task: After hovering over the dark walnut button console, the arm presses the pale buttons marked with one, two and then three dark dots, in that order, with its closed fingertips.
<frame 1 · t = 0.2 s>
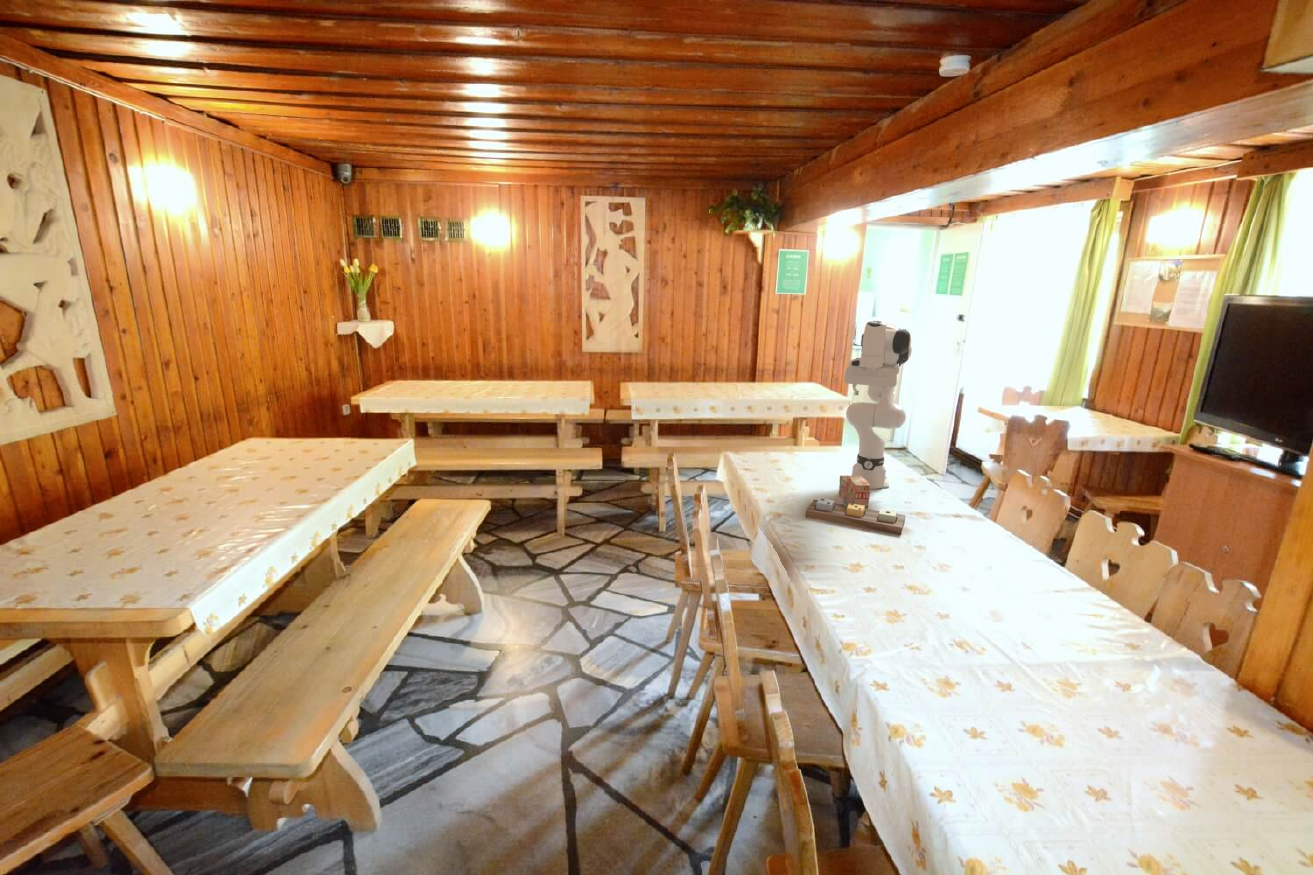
hand: (868, 396, 237), 47 cm above the table, tool pointing down, fingers open, 8 cm apart
button three: (855, 511, 232), point 4 cm above the table, slide at 0.0 cm
button one: (887, 516, 227), point 4 cm above the table, slide at 0.0 cm
button two: (825, 505, 238), point 4 cm above the table, slide at 0.0 cm
stack of blocks: (852, 503, 251), on the table
console: (854, 519, 233), on the table
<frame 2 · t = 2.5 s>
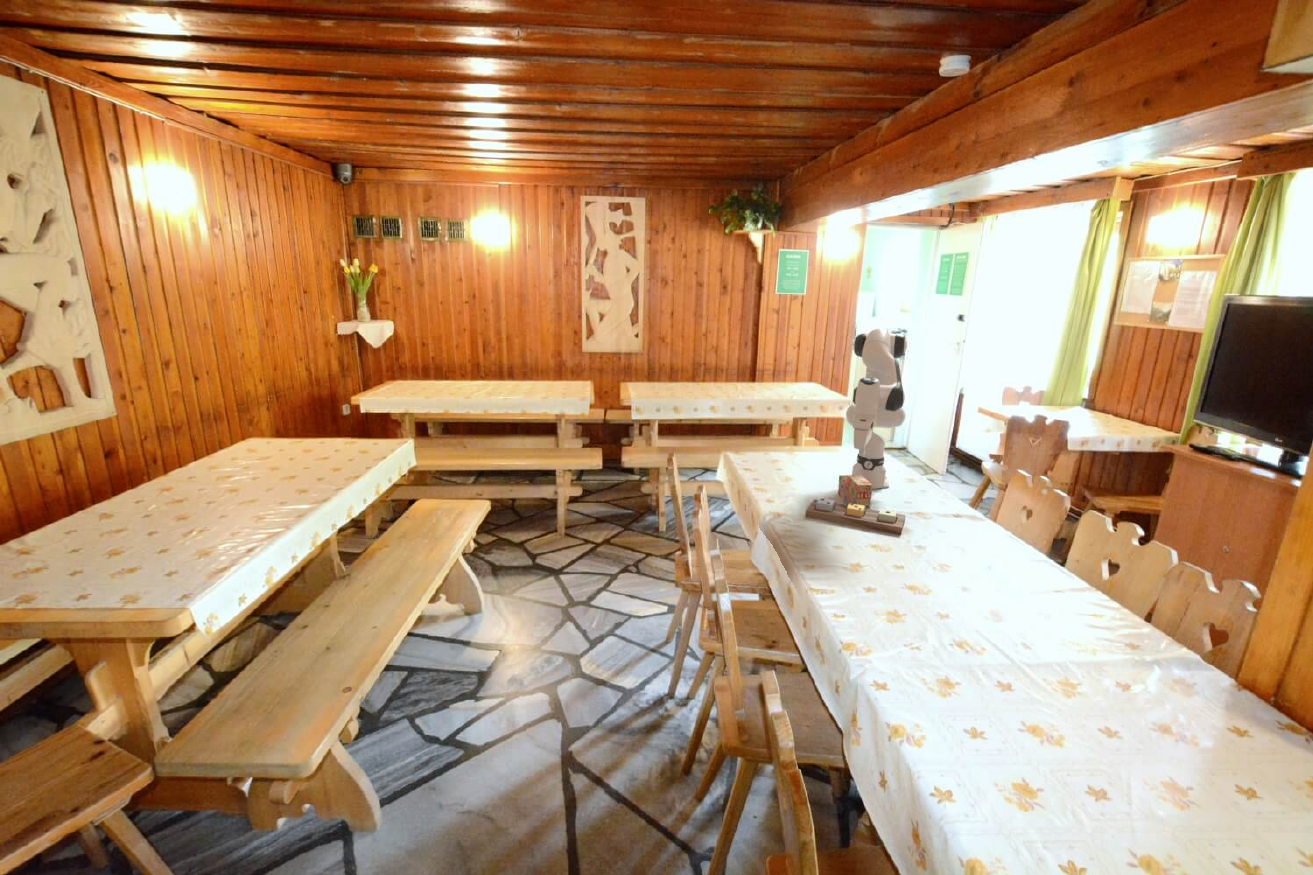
hand: (861, 454, 226), 27 cm above the table, tool pointing down, fingers closed
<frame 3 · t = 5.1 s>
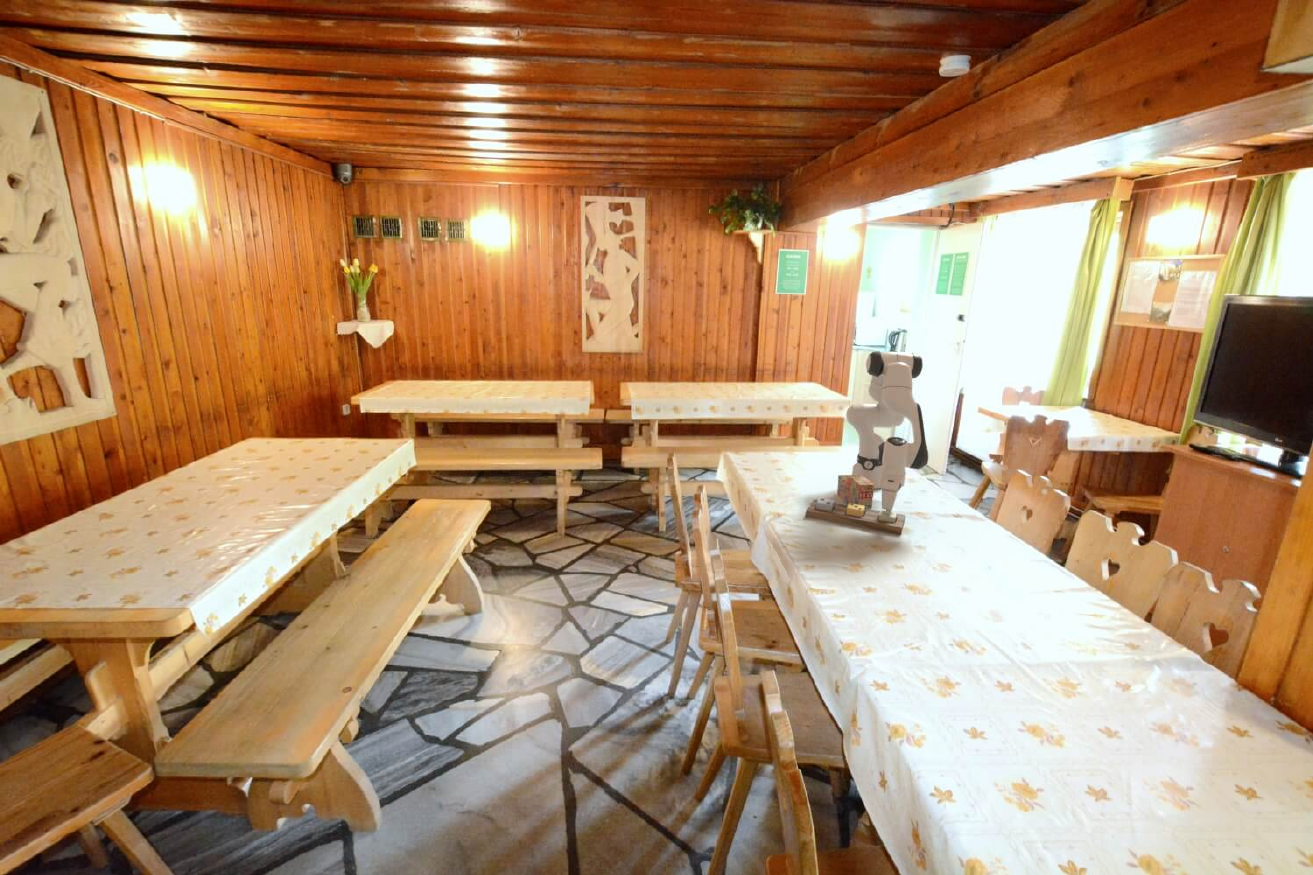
hand: (888, 513, 226), 5 cm above the table, tool pointing down, fingers closed, pressing on button one
button one: (887, 518, 227), point 3 cm above the table, slide at 0.6 cm, touching gripper
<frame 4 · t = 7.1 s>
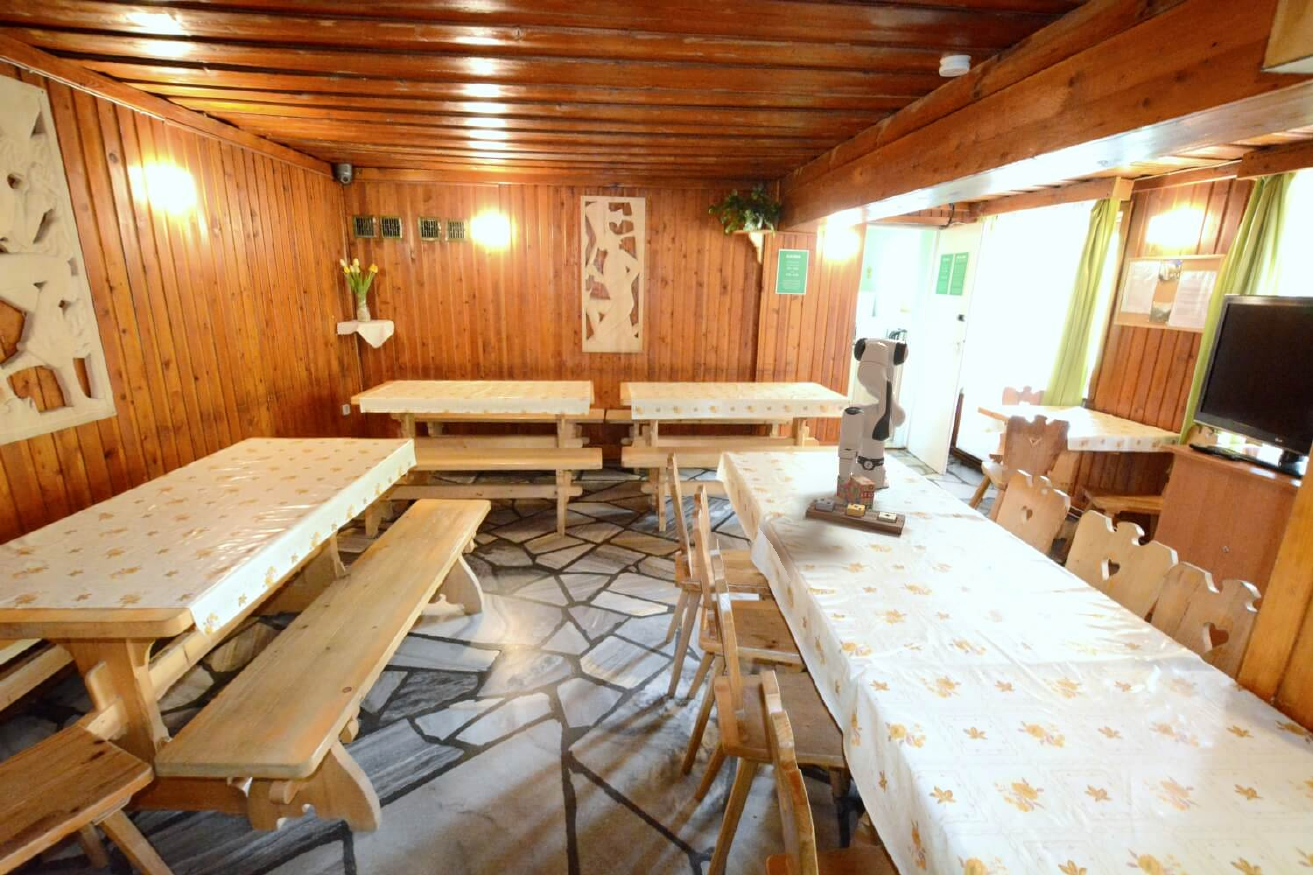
hand: (846, 482, 231), 15 cm above the table, tool pointing down, fingers closed
button one: (887, 520, 227), point 2 cm above the table, slide at 1.3 cm
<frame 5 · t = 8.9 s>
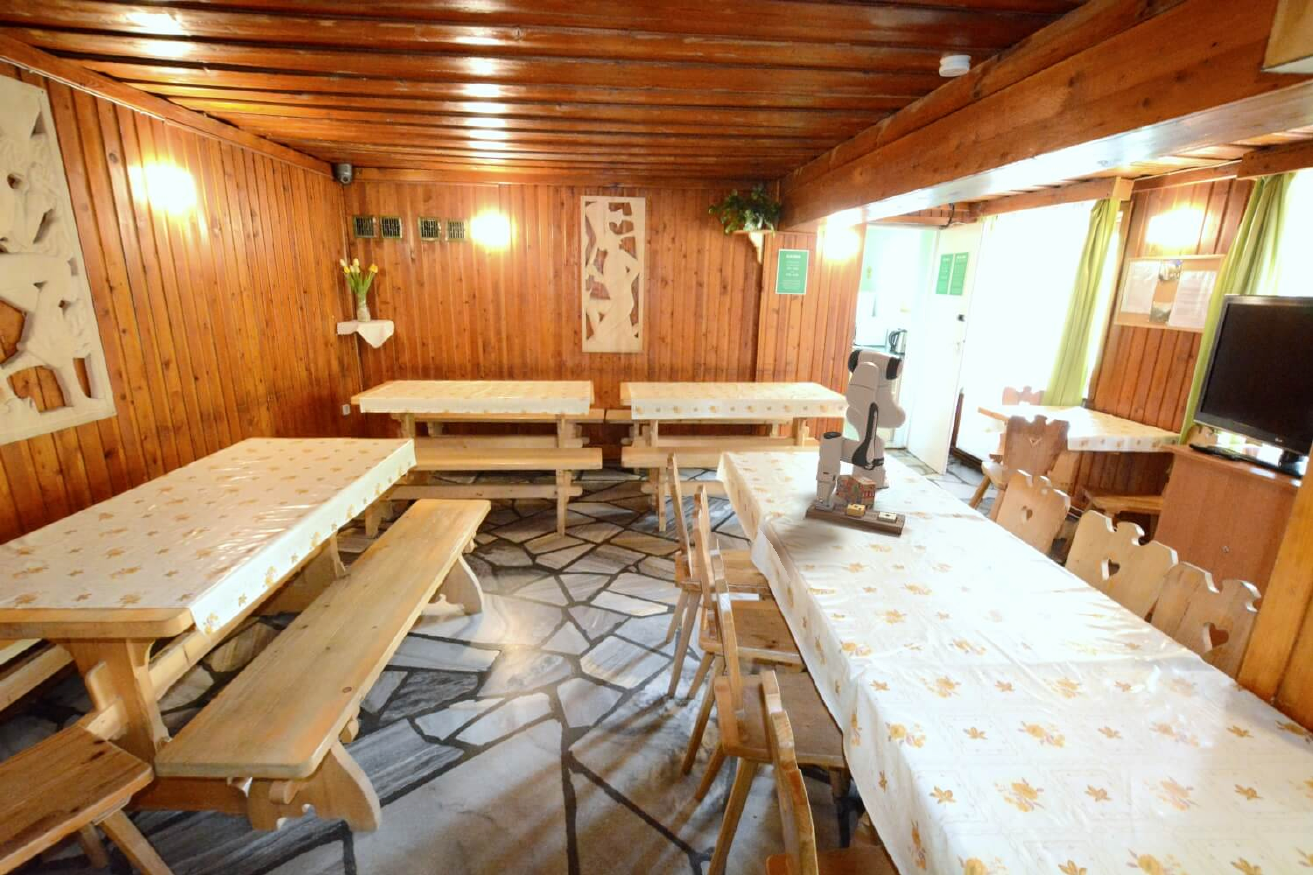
hand: (825, 504, 237), 4 cm above the table, tool pointing down, fingers closed
button two: (824, 508, 238), point 2 cm above the table, slide at 1.3 cm, touching gripper
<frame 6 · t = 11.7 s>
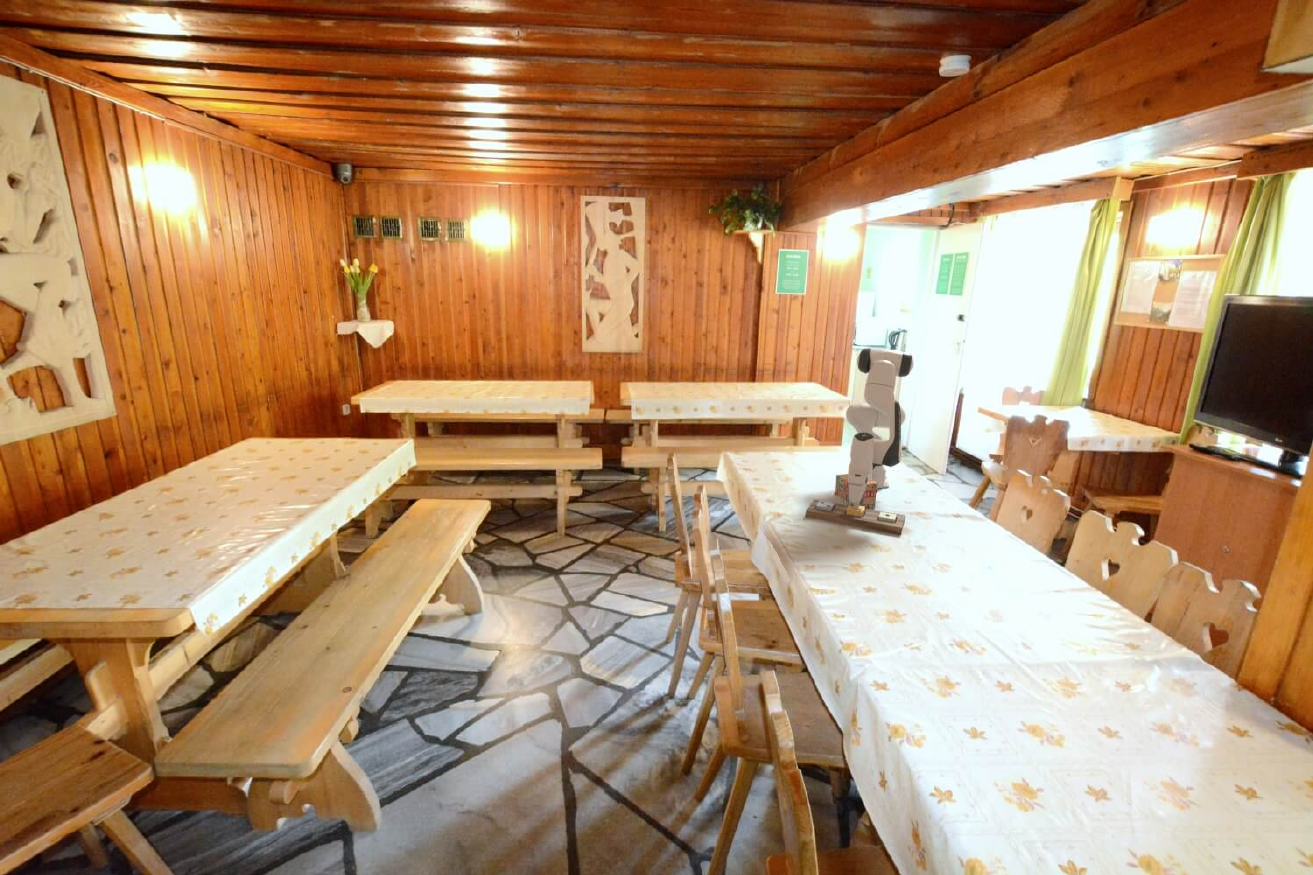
hand: (856, 507, 231), 5 cm above the table, tool pointing down, fingers closed, pressing on button three
button three: (855, 512, 232), point 3 cm above the table, slide at 0.4 cm, touching gripper
button two: (824, 508, 238), point 2 cm above the table, slide at 1.3 cm
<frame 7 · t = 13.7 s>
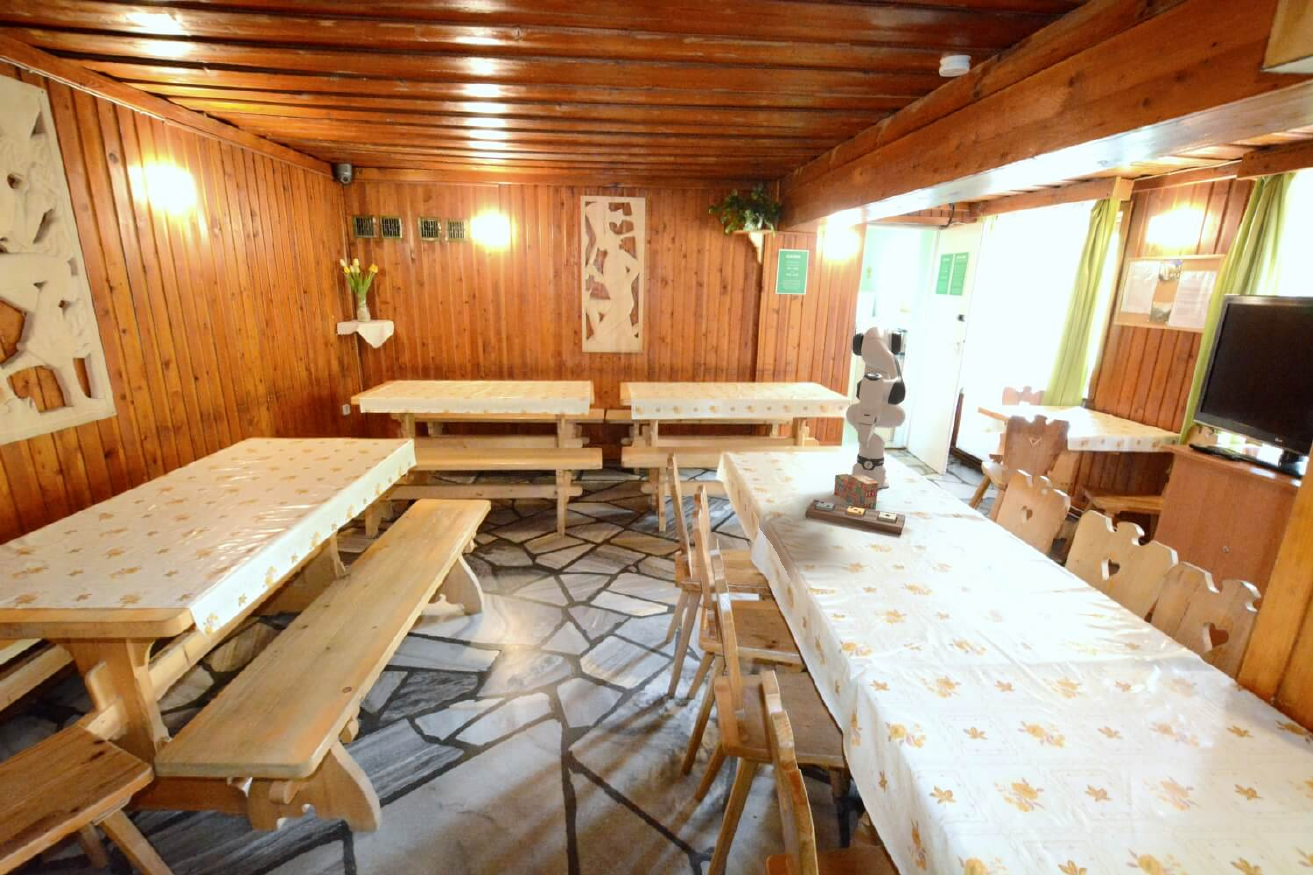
hand: (865, 448, 233), 28 cm above the table, tool pointing down, fingers closed
button three: (855, 514, 233), point 2 cm above the table, slide at 1.3 cm
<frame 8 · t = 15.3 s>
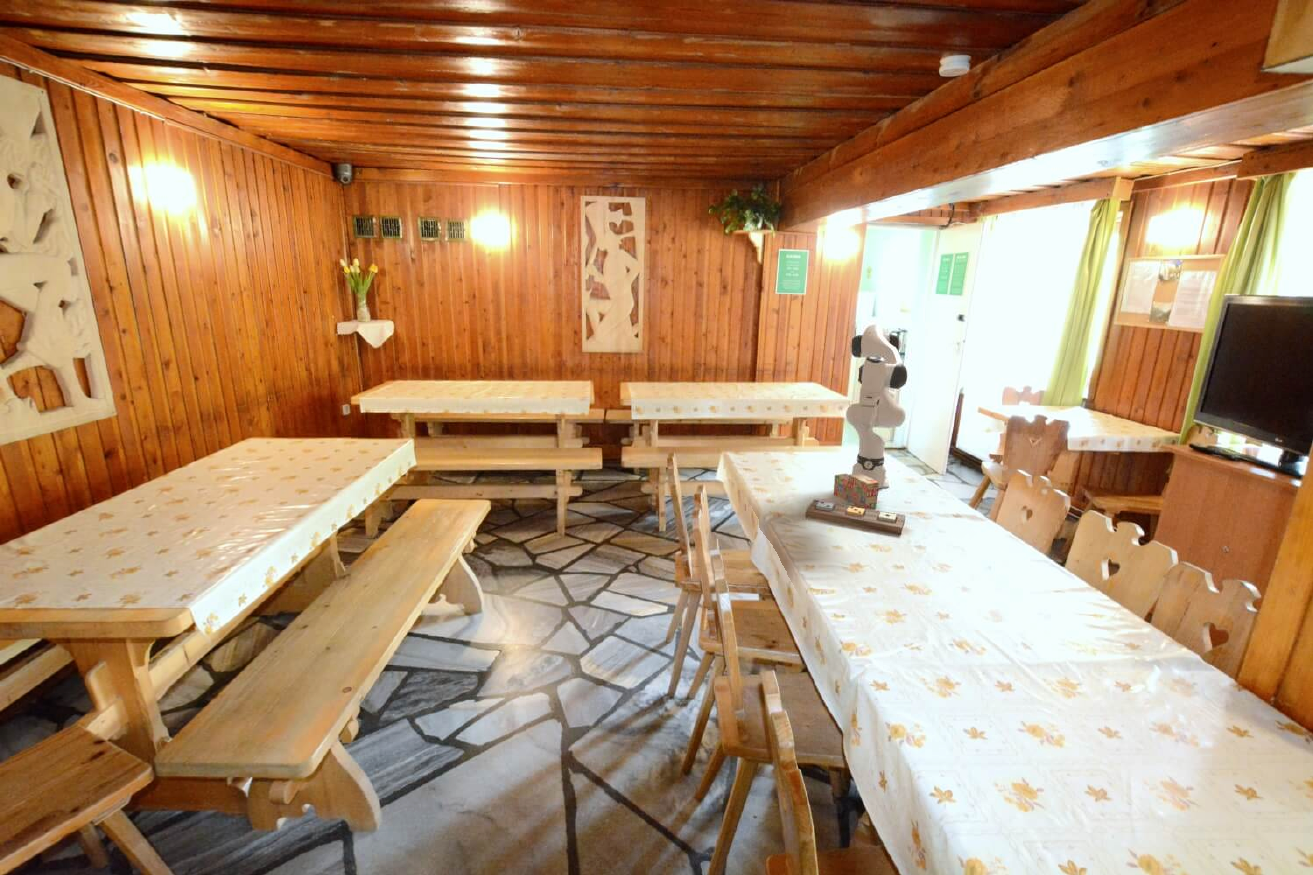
hand: (867, 431, 234), 34 cm above the table, tool pointing down, fingers closed
at the end: button one slide at 1.3 cm; button two slide at 1.3 cm; button three slide at 1.3 cm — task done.
